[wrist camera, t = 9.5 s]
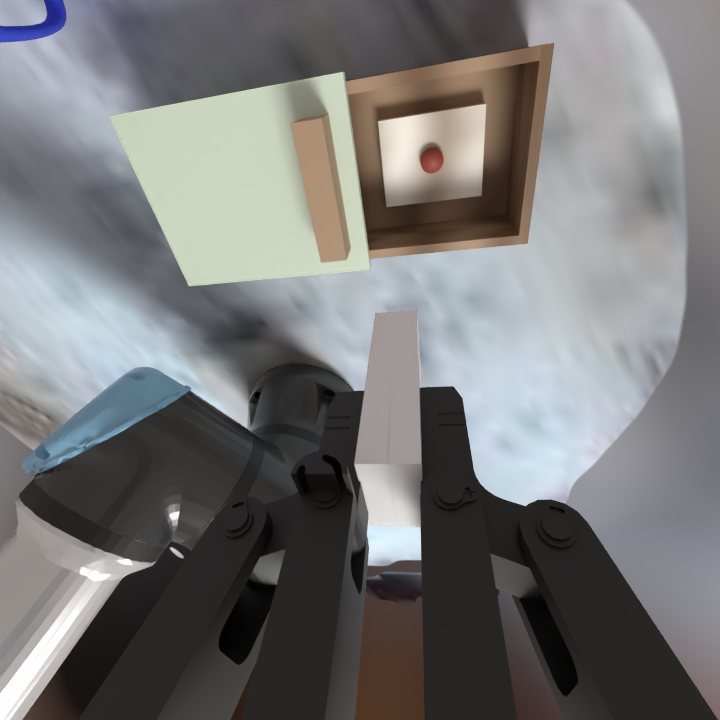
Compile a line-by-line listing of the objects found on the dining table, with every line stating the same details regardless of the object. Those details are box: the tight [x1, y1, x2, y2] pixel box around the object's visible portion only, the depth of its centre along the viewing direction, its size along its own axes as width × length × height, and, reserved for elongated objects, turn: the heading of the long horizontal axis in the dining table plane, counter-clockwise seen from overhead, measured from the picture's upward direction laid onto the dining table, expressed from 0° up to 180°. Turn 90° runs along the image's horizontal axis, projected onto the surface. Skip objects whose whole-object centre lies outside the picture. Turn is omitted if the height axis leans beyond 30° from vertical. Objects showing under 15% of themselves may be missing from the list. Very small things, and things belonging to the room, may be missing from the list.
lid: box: [109, 72, 371, 286], centre depth 27 cm, size 17×13×3 cm
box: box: [346, 43, 554, 259], centre depth 29 cm, size 16×12×6 cm
